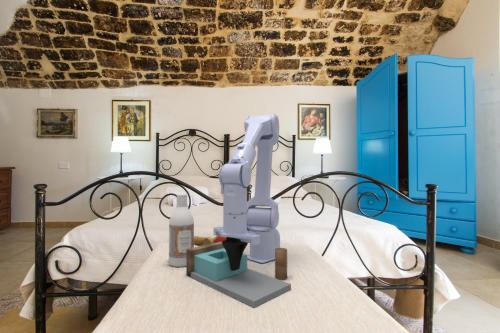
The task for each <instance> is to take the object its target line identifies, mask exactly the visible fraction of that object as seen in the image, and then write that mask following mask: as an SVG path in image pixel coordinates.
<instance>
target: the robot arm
mask: <svg viewBox="0 0 500 333" xmlns="http://www.w3.org/2000/svg"><path fill="white" fill-rule="evenodd" d="M243 126H244V131H245V133H244V137H243V138H242V142H240V143H238V144H237V145H236V147H235V148H234V151H233V152H232V154H231V157H230V158H229V160H228V162H227V163H225V164H223V165H222V166H221V167H220V169H219V174H218V181H219V184H220V192H221V194H222V196H223V198H222V199H223V200H222V203H223V207H222V208H223V211H222V212H223V215H222V216H223V218H222V220H223V221H222V223H223V225H222V226H215V227H213V236H214V237H216V236H217V235H219V236H222V237H226V240H224V241H222V245H223V247H224V248H225V250H226V253H227V255H228V258H229V262H230V268H231V270H232V271H235V270H238V269H239V268H240V262H241V258H242V255H243V254H244V252H245V250H246V248H247V246H248V244H249V254H247V260H250V261H253V262H256V263H259V264H264V263H268V262H271V261H275V249H276V248H281V234H280V232H279V230H278V229H277V227H278V225H279V221H280V212H279V204H278V203H277V202H276V200H274V199H273V198H271V187H272V186H271V183H272V181H271V180H272V168H273V167H272V163H273V152H274V145H276V144H277V143H279V138H280V120H279V116H278V115H277V114H276V113H272V114H264V115H263V114H262V115H247V116H246V117H245V118H244V123H243ZM256 147H257V151H256ZM255 159H256V165H255V166H256V167H255V168H256V169H255V170H256V171H255V184H254V194H253V195H254V196H253V197H251V199H249V200H248V187H249V186H250V185H251V181H252V172H253V169H252V166H253V164H254V160H255Z"/></svg>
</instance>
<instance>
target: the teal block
mask: <svg viewBox="0 0 500 333" xmlns="http://www.w3.org/2000/svg"><path fill="white" fill-rule="evenodd" d="M247 255H248V254H245V253H243V255H242V258H241V262H240V268H239V269H238V270H235V271H232V270H231V268H230V262H229V258H228V255H227V253H226V250H225V248H222V249H218V250H214V251H210V252H206V253H202V254H198V255H194V272H197V273H199V274H201V275H203V276H206V277H208V278H210V279H212V280H215V281H218V280H221V279H224V278H227V277H230V276H233V275H236V274H238V273H241V272H244V271H247V269H248V259H247Z"/></svg>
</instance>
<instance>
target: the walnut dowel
mask: <svg viewBox="0 0 500 333" xmlns="http://www.w3.org/2000/svg"><path fill="white" fill-rule="evenodd" d="M274 278H275V279H278V280H281V281H285V280H287V279H288V249H287V248H285V247H280V248H276V249H275V259H274Z"/></svg>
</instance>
